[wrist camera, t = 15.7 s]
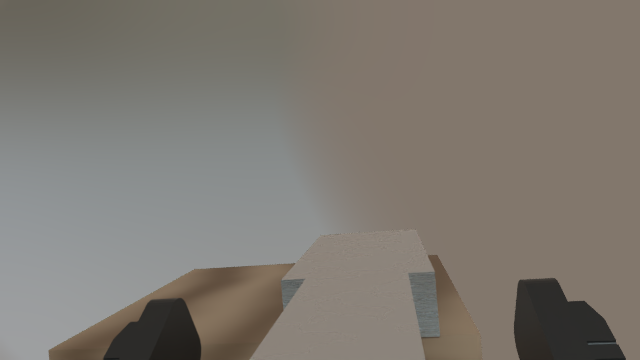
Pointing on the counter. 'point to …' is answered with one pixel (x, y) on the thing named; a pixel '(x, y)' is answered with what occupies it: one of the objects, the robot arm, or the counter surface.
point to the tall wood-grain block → (260, 315)
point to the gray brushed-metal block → (356, 300)
